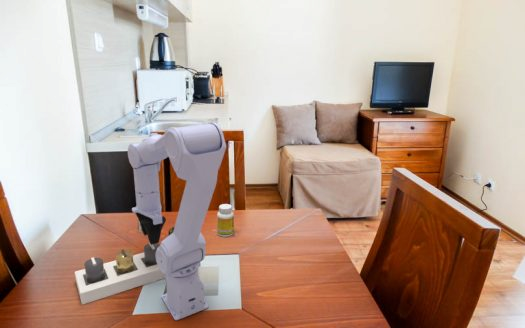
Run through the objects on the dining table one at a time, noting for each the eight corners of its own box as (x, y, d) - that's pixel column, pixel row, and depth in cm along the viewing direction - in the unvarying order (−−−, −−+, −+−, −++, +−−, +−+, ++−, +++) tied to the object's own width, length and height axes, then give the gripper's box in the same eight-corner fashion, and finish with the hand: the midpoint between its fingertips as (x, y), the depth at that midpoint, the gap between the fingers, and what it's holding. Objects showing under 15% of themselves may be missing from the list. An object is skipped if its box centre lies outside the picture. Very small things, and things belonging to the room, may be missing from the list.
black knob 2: (162, 263, 92) (161, 246, 91) (147, 267, 90) (146, 250, 89) (158, 256, 96) (156, 239, 94) (143, 260, 94) (141, 243, 92)
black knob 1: (106, 280, 85) (104, 262, 84) (88, 285, 83) (85, 267, 81) (103, 271, 88) (100, 254, 87) (85, 276, 86) (83, 259, 85)
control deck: (174, 274, 92) (174, 264, 91) (82, 304, 80) (80, 293, 79) (162, 256, 100) (161, 247, 99) (76, 281, 88) (74, 271, 87)
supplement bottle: (216, 230, 116) (216, 203, 113) (232, 228, 117) (232, 202, 114) (218, 238, 111) (217, 210, 108) (234, 236, 112) (234, 209, 109)
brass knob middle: (135, 271, 89) (134, 253, 87) (119, 276, 87) (117, 258, 85) (131, 263, 92) (130, 246, 90) (115, 268, 90) (113, 251, 88)
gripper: (123, 183, 91) (128, 230, 95) (139, 203, 79) (143, 255, 83) (150, 179, 94) (154, 224, 98) (169, 196, 83) (172, 247, 87)
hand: (151, 238), depth 91 cm, fingers open, 5 cm apart
